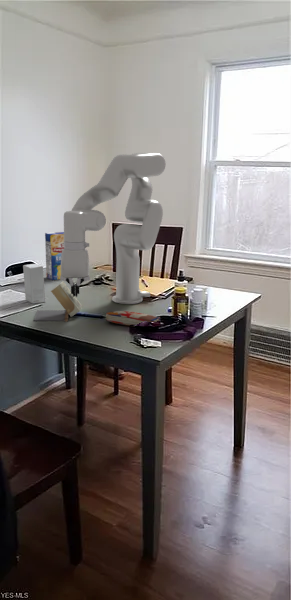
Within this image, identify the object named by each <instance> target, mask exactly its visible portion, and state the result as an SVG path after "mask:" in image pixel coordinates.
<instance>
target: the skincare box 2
mask: <svg viewBox="0 0 291 600" xmlns="http://www.w3.org/2000/svg"><path fill="white" fill-rule="evenodd" d="M50 292H51V293H52V294H53V297H55V298H56V300H57V301H58V302H59V304H60V306H62V308H63V309H64V310H66V311H67V313H68V314H69V317H70V318H72V317H73V316H74V315H77V314H78V313H79V312H80V311H81V310H82V308H83V305H82V304H81V302H80V301H79V300H78V298H77V297H76V296H74V297H73V294H71V288H69V287H68V285H67V284H66V283H65V281H61V282H60V283H58V284H57V285H56V286H55V287H54V288H52V290H50Z"/></svg>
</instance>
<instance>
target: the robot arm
mask: <svg viewBox="0 0 291 600" xmlns="http://www.w3.org/2000/svg"><path fill="white" fill-rule="evenodd" d="M166 163H167V162H166V159H165V157H164V156H163V155H162V154H161V153H157V152H134V153H131V154H127V153H126V154H118V155H115V156H114V158H112V160H111V161H110V163H109V165H108V167H107V168H106V169H105V171H104V172H103V175H102V176H101V178H100V180H99V181H98V183H96V184H95V185H93V186H92V187H91V188H89V189H88V190H87V191H86V192H84V193H83V194H82V195H80V197H79V198H78V199H77V200H76V202H75V203H74V205H73V207H72V208H71V210H68V211H65V212H64V213H63V232H64V249H62V254H61V277H60V279H59V280H60V281H62V282H67V284H69V286H70V291H71V294H73V297H74V296H75V297H76V298H77V297H78V295H79V294H80V285H82V283H84V282H87V281H90V279H91V276H90V261H89V260H90V259H89V258H90V257H89V252H88V249H87V248H89V247H90V243H89V242H86V231H87V232H98V231H100V230H102V229H103V228H104V227H105V225H106V224H107V223H106V222H107V219H106V215H105V214H104V213H103V212H102V211H99V210H95V209H94V208H95V207H96V206H98V205H100V204H103V203H105V202H108V201H112V200H113V199H116V198H117V197H118V196H119V194H120V193H121V190H122V189H123V188H124V186H125V184H126V182H127V180H129V179H130V180H131V189H130V194H129V197H128V199H127V203H126V206H125V211H124V217H125V219H126V220H127V221H129V222H132V223H137V224H129V223H123V224H119V225H118V226H117V227H116V229H115V230H114V233H113V240H114V245H115V252H116V253H115V254H116V266H115V267H116V271H115V272H116V273H115V277H116V278H115V281H116V282H115V283H116V284H115V289H116V290H115V295H113V296H112V302H114V303H117V304H122V305H123V304H124V305H134V304H135V305H136V304H140V303H142V302H143V298H144V297H145V298H147V297H149V298H150V297H151V291H150V292H149V291H145V290H144V291H141V289H140V265H141V264H140V263H141V261H140V259H141V258H140V254H139V252H138V250H140V251H150V250H152V248H153V247H154V245H155V243H156V241H157V237H158V234H159V231H160V228H161V224H162V220H163V215H164V211H163V206H162V204H161V203H160V202H159V201H157V200H155V199H151V198H152V194H153V186H152V182H151V180H150V178H151V177H152V178H153V177H158V176H160V175H162V174H163V172H164V171H165V169H166ZM138 224H140V225H138ZM75 278H77V280H76V283H75V282H74V279H75Z"/></svg>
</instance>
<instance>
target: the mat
mask: <svg viewBox="0 0 291 600" xmlns="http://www.w3.org/2000/svg"><path fill="white" fill-rule="evenodd" d="M65 313H66V310H65V309H64V310H63V309H56V310H55V309H54V310H53V309H52V310H51V309H49V310H41V309H39V310H37V311H36V314H35V316H34V318H33V322H65Z"/></svg>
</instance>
